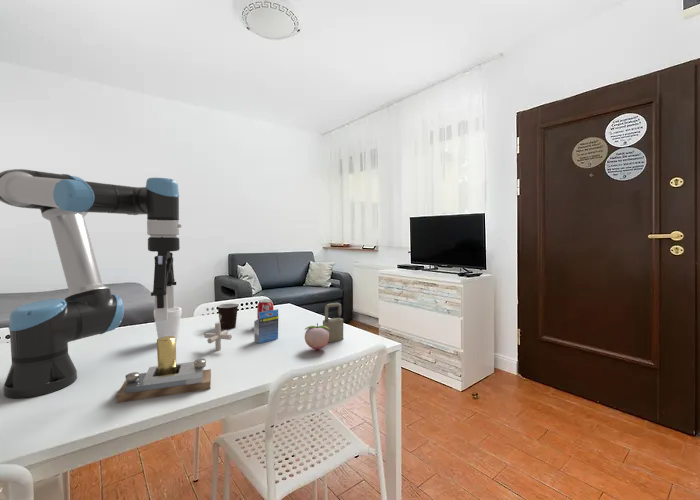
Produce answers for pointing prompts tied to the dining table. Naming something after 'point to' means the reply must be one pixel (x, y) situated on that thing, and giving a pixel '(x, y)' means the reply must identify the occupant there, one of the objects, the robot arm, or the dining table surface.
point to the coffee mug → (227, 315)
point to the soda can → (264, 306)
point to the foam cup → (169, 323)
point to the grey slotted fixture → (166, 377)
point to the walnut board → (164, 390)
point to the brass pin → (166, 355)
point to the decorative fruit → (317, 336)
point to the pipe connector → (217, 336)
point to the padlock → (334, 324)
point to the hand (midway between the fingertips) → (165, 314)
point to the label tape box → (266, 327)
